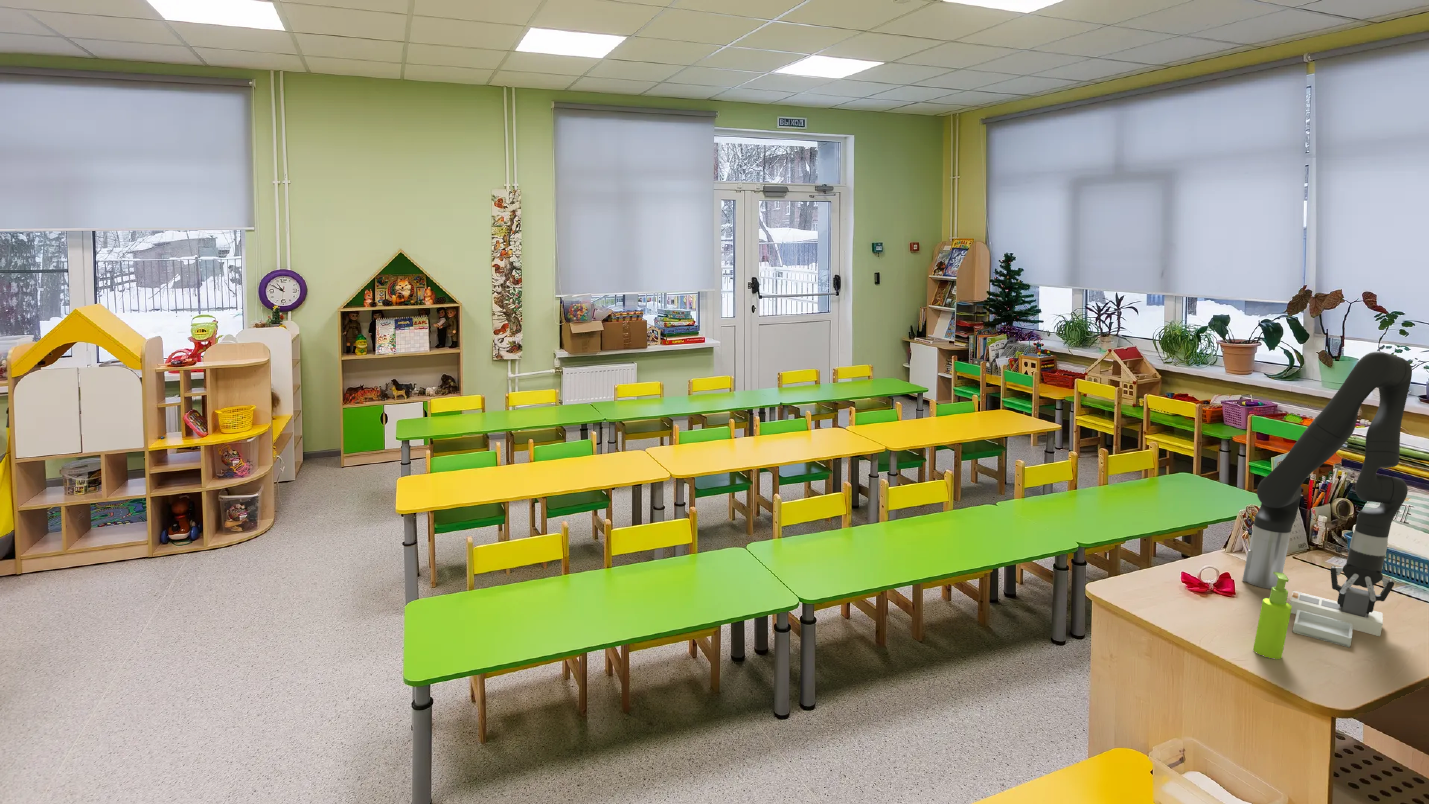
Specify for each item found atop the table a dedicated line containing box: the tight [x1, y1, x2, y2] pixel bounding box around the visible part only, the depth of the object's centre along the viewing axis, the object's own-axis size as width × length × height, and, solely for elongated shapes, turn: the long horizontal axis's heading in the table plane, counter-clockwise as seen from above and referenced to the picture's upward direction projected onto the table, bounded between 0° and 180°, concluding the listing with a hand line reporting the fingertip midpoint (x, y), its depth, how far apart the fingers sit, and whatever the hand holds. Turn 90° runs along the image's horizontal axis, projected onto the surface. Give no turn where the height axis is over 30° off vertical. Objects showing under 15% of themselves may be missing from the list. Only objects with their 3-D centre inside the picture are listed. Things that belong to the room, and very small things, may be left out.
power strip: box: [1289, 590, 1384, 637], centre depth 228 cm, size 20×9×4 cm, turn 52°
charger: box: [1341, 586, 1370, 617], centre depth 226 cm, size 5×7×7 cm
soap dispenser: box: [1252, 572, 1292, 660], centre depth 205 cm, size 6×7×20 cm
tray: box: [1292, 610, 1354, 649], centre depth 219 cm, size 12×11×2 cm
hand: (1354, 609), depth 225 cm, fingers closed on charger, 5 cm apart
